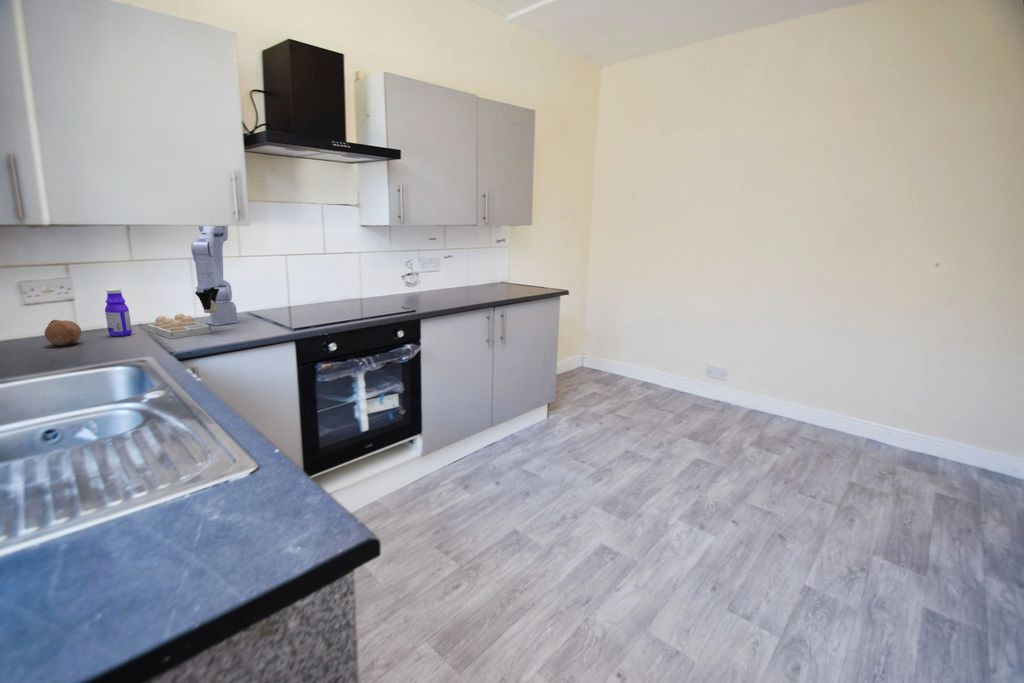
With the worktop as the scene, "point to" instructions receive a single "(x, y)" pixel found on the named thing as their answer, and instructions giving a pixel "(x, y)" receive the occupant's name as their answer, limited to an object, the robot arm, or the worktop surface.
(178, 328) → the carton
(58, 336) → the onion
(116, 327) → the bottle
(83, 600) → the worktop surface
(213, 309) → the egg
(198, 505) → the worktop surface
